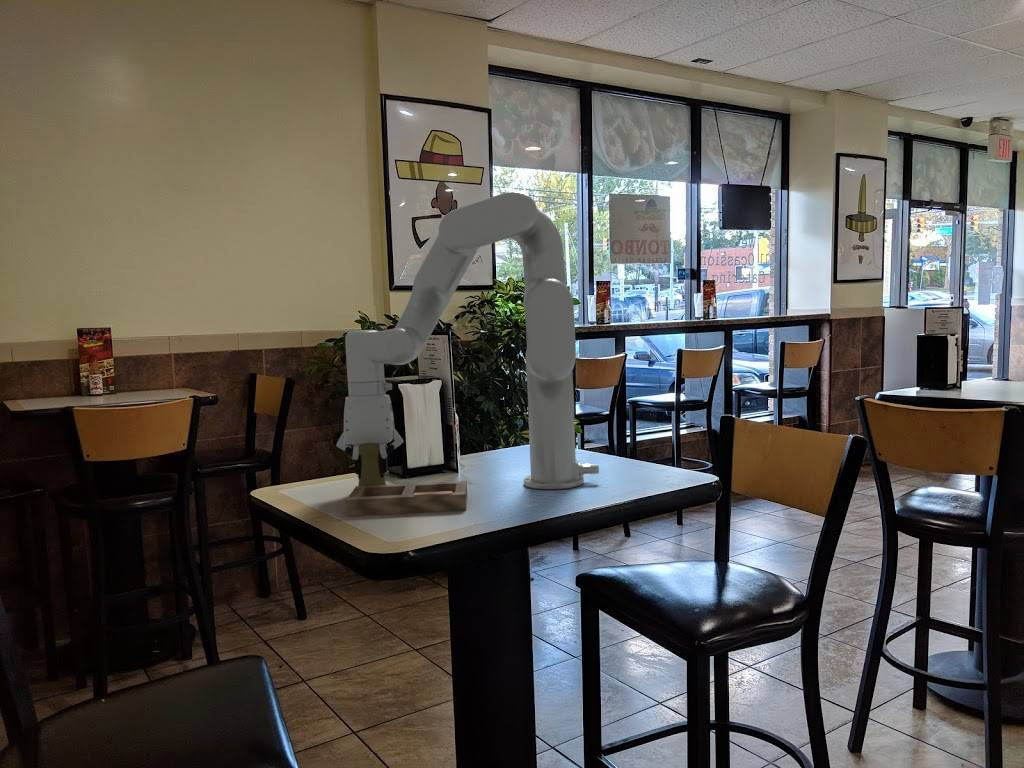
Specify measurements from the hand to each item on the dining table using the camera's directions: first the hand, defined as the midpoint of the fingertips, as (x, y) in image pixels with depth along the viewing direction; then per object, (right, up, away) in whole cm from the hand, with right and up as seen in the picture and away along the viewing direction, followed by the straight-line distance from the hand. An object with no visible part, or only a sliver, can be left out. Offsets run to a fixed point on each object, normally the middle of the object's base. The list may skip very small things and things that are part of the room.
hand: (371, 476), depth 166 cm
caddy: (+10, -4, -13) cm, 17 cm away
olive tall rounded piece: (0, -3, 0) cm, 3 cm away
